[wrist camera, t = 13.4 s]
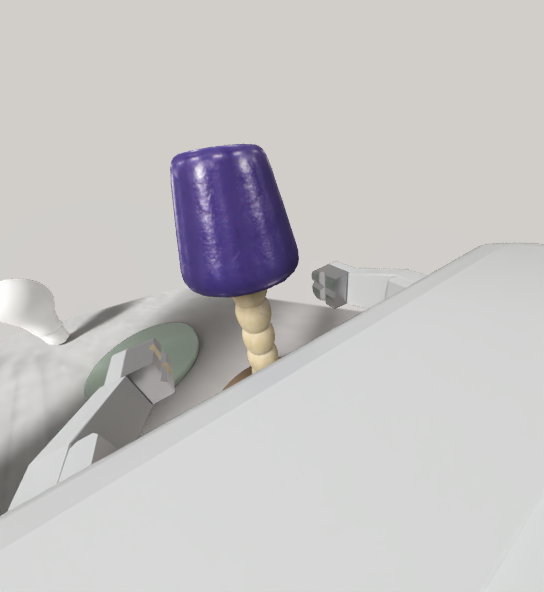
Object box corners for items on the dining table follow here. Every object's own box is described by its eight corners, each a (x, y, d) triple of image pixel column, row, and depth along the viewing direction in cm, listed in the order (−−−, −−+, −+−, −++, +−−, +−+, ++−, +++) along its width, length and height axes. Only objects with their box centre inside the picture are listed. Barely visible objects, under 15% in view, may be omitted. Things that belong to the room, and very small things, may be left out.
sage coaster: (77, 440, 17) (67, 434, 17) (104, 354, 27) (98, 347, 26) (208, 372, 21) (204, 365, 21) (192, 317, 31) (189, 311, 30)
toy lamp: (307, 389, 17) (282, 145, 8) (319, 456, 13) (296, 117, 4) (251, 394, 17) (169, 167, 8) (246, 462, 13) (79, 161, 4)
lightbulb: (76, 326, 34) (23, 269, 29) (94, 332, 32) (40, 271, 26) (30, 352, 30) (-43, 292, 24) (46, 362, 27) (-32, 297, 21)
